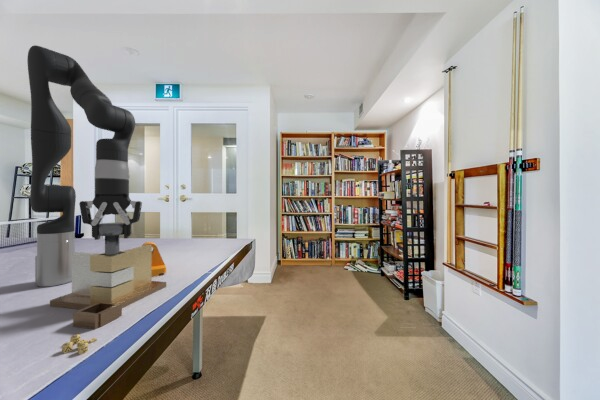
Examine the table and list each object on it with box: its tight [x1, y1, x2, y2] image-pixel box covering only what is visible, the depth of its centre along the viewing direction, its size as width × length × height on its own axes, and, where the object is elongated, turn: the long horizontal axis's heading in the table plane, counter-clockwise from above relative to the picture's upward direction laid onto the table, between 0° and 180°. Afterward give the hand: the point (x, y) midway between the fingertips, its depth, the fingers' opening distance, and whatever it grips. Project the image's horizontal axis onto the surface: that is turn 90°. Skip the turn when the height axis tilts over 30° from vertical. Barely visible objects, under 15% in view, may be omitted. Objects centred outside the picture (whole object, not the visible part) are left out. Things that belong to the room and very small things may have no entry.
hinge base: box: [49, 245, 167, 330], centre depth 70 cm, size 24×26×14 cm
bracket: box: [141, 241, 167, 278], centre depth 94 cm, size 11×7×12 cm, turn 125°
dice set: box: [61, 333, 98, 355], centre depth 48 cm, size 5×5×2 cm
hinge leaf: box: [71, 251, 134, 294], centre depth 69 cm, size 17×7×11 cm, turn 79°
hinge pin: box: [98, 222, 125, 256], centre depth 68 cm, size 6×6×14 cm
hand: (112, 238), depth 68 cm, fingers closed on hinge pin, 6 cm apart
